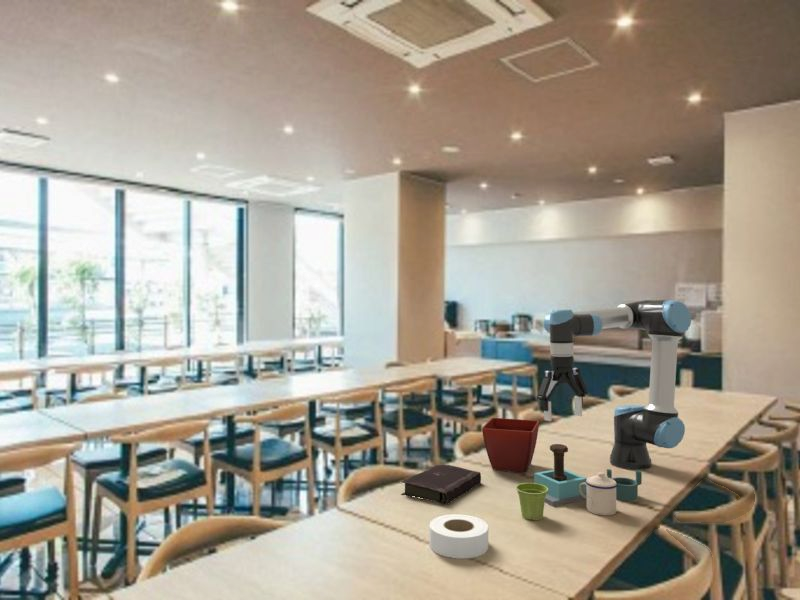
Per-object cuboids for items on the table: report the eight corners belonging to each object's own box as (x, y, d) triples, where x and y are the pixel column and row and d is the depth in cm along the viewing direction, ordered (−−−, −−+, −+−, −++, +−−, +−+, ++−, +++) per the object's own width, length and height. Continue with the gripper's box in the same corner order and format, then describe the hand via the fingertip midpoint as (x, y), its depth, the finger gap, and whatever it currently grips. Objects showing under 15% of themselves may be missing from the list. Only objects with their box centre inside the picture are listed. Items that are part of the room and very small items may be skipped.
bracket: (644, 498, 180) (643, 470, 180) (625, 503, 175) (625, 475, 175) (620, 490, 187) (620, 464, 187) (602, 495, 183) (602, 468, 183)
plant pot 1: (481, 471, 208) (481, 427, 208) (492, 458, 226) (492, 417, 226) (532, 477, 201) (532, 431, 201) (539, 463, 218) (539, 420, 218)
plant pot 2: (530, 525, 159) (530, 495, 159) (509, 514, 167) (509, 485, 167) (555, 519, 163) (554, 490, 163) (533, 508, 171) (533, 480, 171)
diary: (481, 485, 195) (481, 471, 195) (447, 508, 174) (447, 492, 174) (436, 475, 205) (436, 462, 205) (398, 495, 185) (398, 480, 184)
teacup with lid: (622, 511, 169) (622, 473, 169) (607, 518, 163) (607, 479, 163) (587, 500, 178) (587, 464, 178) (571, 507, 172) (571, 470, 172)
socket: (567, 485, 192) (567, 466, 192) (595, 497, 181) (595, 477, 181) (526, 493, 185) (526, 474, 185) (552, 506, 173) (552, 485, 173)
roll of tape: (449, 528, 157) (449, 508, 157) (499, 543, 148) (499, 522, 148) (417, 547, 145) (417, 526, 145) (468, 565, 135) (468, 543, 135)
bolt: (548, 488, 185) (548, 443, 184) (562, 487, 186) (562, 443, 185) (555, 494, 179) (555, 449, 179) (570, 493, 180) (569, 448, 179)
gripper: (581, 351, 194) (582, 411, 194) (525, 356, 183) (526, 420, 183) (597, 353, 187) (598, 415, 188) (540, 359, 176) (542, 424, 176)
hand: (563, 418), depth 185 cm, fingers open, 13 cm apart
